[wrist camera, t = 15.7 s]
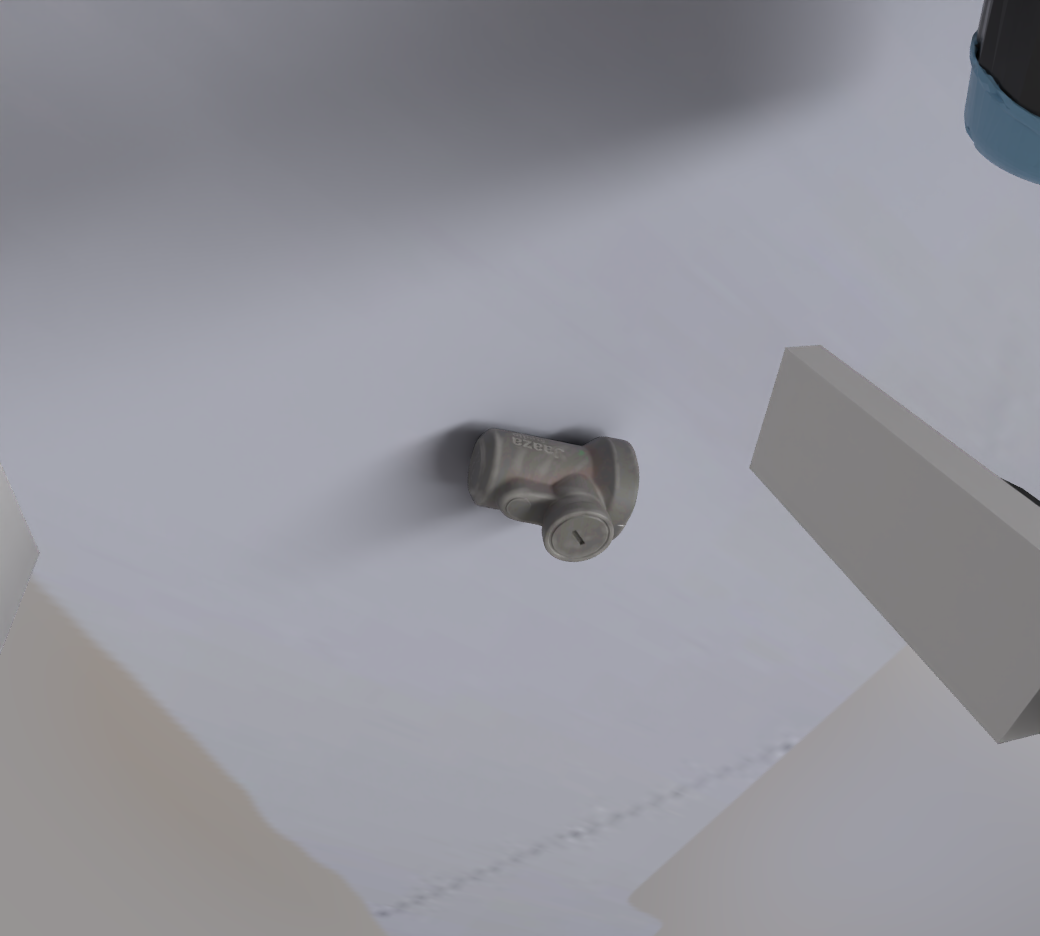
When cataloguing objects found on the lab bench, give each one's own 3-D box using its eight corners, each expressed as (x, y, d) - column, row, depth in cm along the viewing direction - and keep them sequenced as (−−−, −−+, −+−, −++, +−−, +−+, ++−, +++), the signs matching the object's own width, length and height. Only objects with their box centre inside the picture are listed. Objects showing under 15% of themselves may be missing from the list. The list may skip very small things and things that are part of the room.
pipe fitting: (629, 422, 57) (665, 506, 50) (589, 496, 62) (617, 584, 54) (487, 388, 54) (502, 473, 46) (456, 470, 58) (465, 560, 50)
